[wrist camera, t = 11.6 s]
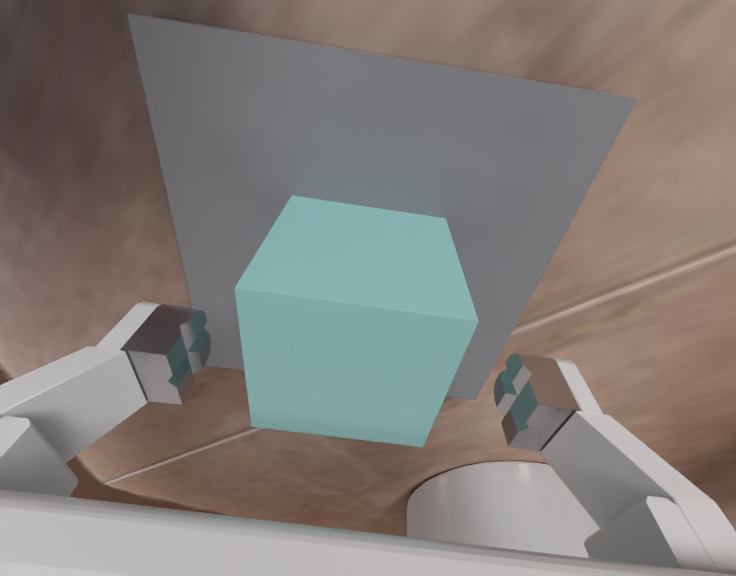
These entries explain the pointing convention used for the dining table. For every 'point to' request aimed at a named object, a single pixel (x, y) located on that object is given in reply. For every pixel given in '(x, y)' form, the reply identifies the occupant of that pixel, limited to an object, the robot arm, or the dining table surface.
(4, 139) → the dining table surface
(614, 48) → the dining table surface
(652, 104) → the dining table surface
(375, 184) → the tile
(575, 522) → the utensil holder
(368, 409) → the cube
